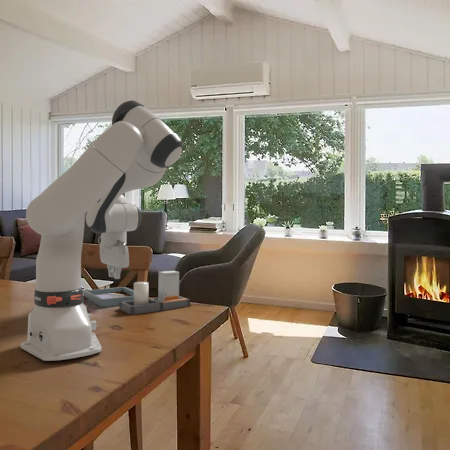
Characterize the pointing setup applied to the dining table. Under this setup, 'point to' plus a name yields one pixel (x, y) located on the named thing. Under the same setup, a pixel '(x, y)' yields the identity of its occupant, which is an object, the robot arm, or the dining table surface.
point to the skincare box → (168, 286)
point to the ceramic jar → (141, 293)
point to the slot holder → (153, 305)
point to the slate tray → (110, 301)
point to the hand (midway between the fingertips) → (114, 277)
